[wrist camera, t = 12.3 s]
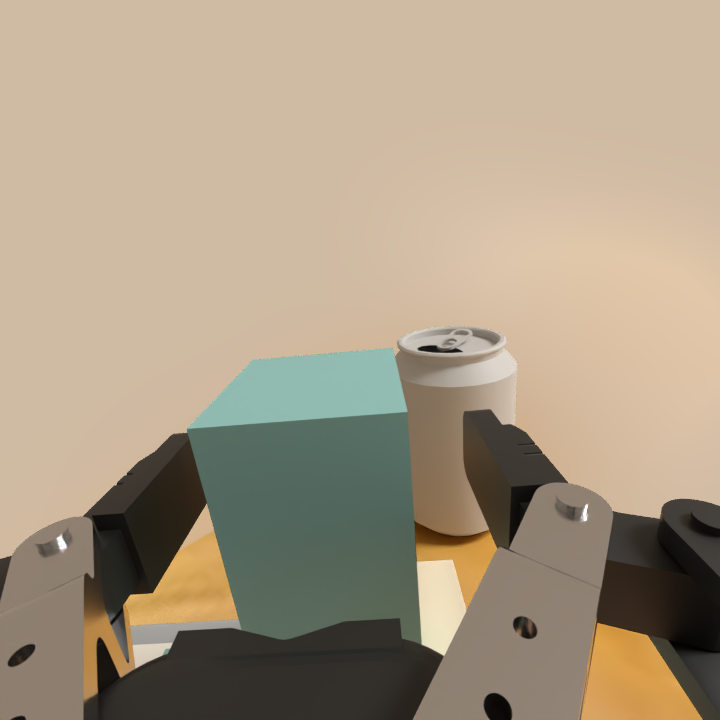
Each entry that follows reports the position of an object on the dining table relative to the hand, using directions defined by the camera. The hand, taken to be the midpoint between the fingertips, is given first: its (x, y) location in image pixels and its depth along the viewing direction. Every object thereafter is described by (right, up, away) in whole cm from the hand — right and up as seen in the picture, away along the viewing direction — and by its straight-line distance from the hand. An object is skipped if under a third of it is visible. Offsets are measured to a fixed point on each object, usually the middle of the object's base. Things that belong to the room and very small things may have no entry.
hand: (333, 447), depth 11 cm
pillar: (+1, -7, 0) cm, 7 cm away
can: (+7, -7, +14) cm, 17 cm away
